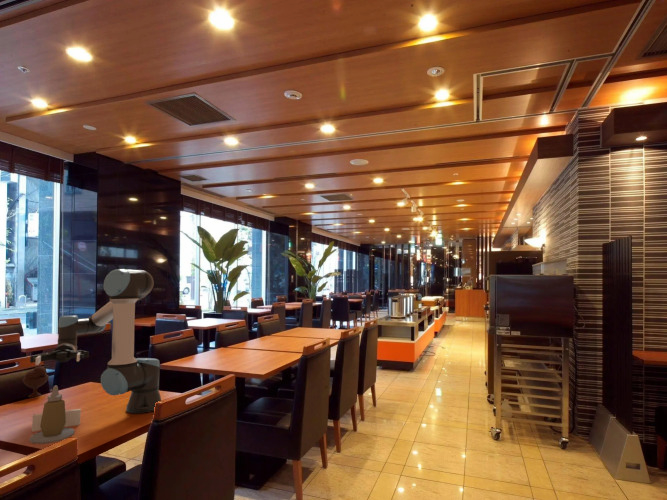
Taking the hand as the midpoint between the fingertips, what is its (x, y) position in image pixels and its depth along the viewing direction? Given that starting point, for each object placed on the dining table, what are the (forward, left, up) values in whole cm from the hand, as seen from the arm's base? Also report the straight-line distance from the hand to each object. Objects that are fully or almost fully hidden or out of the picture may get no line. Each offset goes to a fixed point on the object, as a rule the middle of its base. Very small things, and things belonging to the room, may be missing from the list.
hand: (57, 359), depth 159 cm
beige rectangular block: (+4, -4, -28) cm, 29 cm away
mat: (-4, +3, -28) cm, 28 cm away
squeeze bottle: (-4, +3, -27) cm, 28 cm away
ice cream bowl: (+62, -28, -28) cm, 74 cm away
